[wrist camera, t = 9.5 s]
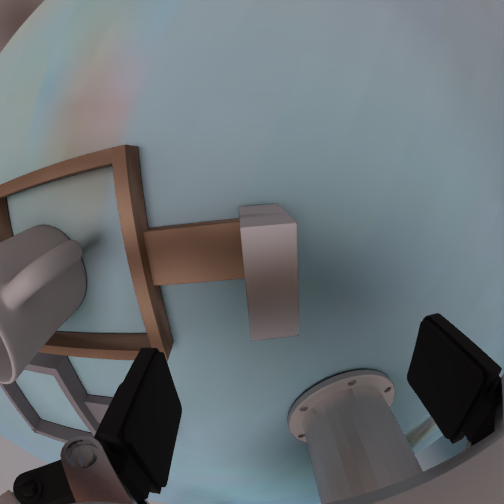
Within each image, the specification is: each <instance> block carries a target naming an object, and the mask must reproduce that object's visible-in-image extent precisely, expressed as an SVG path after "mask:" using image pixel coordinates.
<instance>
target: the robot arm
mask: <svg viewBox="0 0 504 504" xmlns="http://www.w3.org/2000/svg"><path fill="white" fill-rule="evenodd" d="M501 370H502V368H501V367H500V366H499V365H498V364H496V363H495V362H494V361H493V360H492V359H491V358H490V357H489V356H488V355H487V354H486V353H485V352H483V351H482V350H481V349H480V348H479V347H478V346H477V345H476V344H475V343H473V342H472V341H471V340H470V339H469V338H468V337H467V336H465V335H464V334H463V333H462V332H461V331H460V330H458V329H457V328H456V327H455V326H454V325H453V324H451V323H450V322H449V321H448V320H447V319H445V318H444V317H443V316H442V315H440V314H439V313H436V314H432V315H428V316H426V317H425V318H424V319H423V321H422V322H421V324H420V328H419V332H418V336H417V341H416V345H415V349H414V353H413V356H412V360H411V364H410V367H409V371H408V374H407V380H408V383H409V384H410V386H411V387H412V389H413V390H414V391H415V393H416V394H417V396H418V397H419V399H420V400H421V402H422V403H423V405H424V406H425V407H426V409H427V410H428V412H429V413H430V415H431V416H432V418H433V419H434V421H435V423H436V424H437V426H438V427H439V429H440V430H441V432H442V433H443V435H444V436H445V438H447V439H450V441H451V442H452V443H455V442H457V441H459V440H461V439H463V437H464V436H466V437H467V442H466V448H465V451H463V452H461V453H459V454H458V455H456V456H454V457H452V458H450V459H449V460H447V461H445V462H443V463H441V464H439V465H437V466H435V467H433V468H430V469H428V470H426V471H424V472H423V471H422V469H421V467H420V465H419V463H418V461H417V459H416V457H415V455H414V453H413V451H412V449H411V447H410V445H409V443H408V441H407V439H406V437H405V435H404V433H403V432H402V430H401V428H400V426H399V424H398V422H397V420H396V418H395V417H394V415H393V413H392V411H391V409H390V406H391V404H392V402H393V400H394V396H395V389H394V386H393V384H392V382H391V381H390V379H389V378H388V377H387V376H386V375H385V374H384V373H381V372H378V371H374V370H356V371H351V372H346V373H343V374H339V375H336V376H334V377H331V378H329V379H327V380H324V381H323V382H321V383H319V384H317V385H315V386H314V387H312V388H311V389H309V390H308V391H307V392H305V393H304V394H303V395H302V396H301V397H300V398H299V399H297V401H296V402H295V403H294V405H293V406H292V407H291V410H290V412H289V414H288V426H289V430H290V432H291V434H292V435H293V436H294V437H295V438H297V439H298V440H300V441H303V442H306V443H307V445H308V449H309V453H310V458H311V462H312V466H313V471H314V475H315V479H316V483H317V488H318V492H319V496H320V501H321V504H504V373H503V375H502V377H501V378H500V377H499V374H500V372H501ZM181 414H182V407H181V403H180V400H179V397H178V394H177V392H176V389H175V386H174V383H173V380H172V376H171V373H170V370H169V367H168V364H167V360H166V357H165V354H164V353H163V352H160V351H159V349H158V348H141V349H140V351H139V353H138V354H137V356H136V358H135V360H134V362H133V364H132V366H131V368H130V370H129V372H128V373H127V375H126V377H125V379H124V381H123V383H121V384H120V385H119V387H118V389H117V391H116V393H115V395H114V397H113V399H112V401H111V403H110V405H109V407H108V409H107V411H106V413H105V415H104V417H103V419H102V421H101V423H100V425H99V427H98V429H97V432H96V434H95V436H94V438H93V437H89V436H78V437H74V438H72V439H70V440H69V441H68V442H66V443H65V444H64V446H63V448H62V450H61V454H60V455H61V460H58V461H56V462H53V463H50V464H48V465H45V466H42V467H39V468H37V469H33V470H30V471H27V472H24V473H22V474H20V475H19V476H18V477H17V478H16V480H15V482H14V486H13V491H14V492H11V491H10V490H8V491H6V492H5V493H3V494H2V495H1V496H0V504H149V502H148V501H147V500H146V499H147V498H148V495H149V492H152V493H158V494H160V492H161V487H165V486H166V485H167V481H168V476H169V471H170V466H171V461H172V456H173V451H174V447H175V442H176V437H177V432H178V428H179V423H180V419H181Z"/></svg>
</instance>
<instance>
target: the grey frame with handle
mask: <svg viewBox="0 0 504 504" xmlns="http://www.w3.org/2000/svg"><path fill="white" fill-rule="evenodd" d="M25 370H29V371H34V372H39V373H43V374H49V375H54V377H55V379H56V380H57V382H58V384H59V386H60V387H61V389H62V391H63V392H64V394H65V395H66V397H67V399H68V400H69V402H70V403H71V405H72V406H73V408H74V409H75V411H76V412H77V414H78V415H79V417H80V418H81V419H82V421H83V422H84V424H85V425H86V426H87V428H88V429H89V430H90V432H91V433H88V432H84V431H80V430H76V429H72V428H68V427H64V426H61V425H57V424H54V423H50V422H47V421H44V420H41V419H40V418H39V416H38V415H37V414H36V412H35V411H34V409H33V408H32V407H31V405H30V404H29V402H28V401H27V399H26V398H25V397H24V395H23V394H22V392H21V390H20V389H19V387H18V386H17V384H16V383H15V381H14V382H12V383H11V384H2V383H0V386H1V387H2V389H3V390H4V392H5V393H6V395H7V396H8V398H9V399H10V401H11V402H12V404H13V405H14V406H15V408H16V409H17V410H18V412H19V413H20V414H21V416H22V417H23V418H24V420H25V421H26V422H27V423H28V425H29V426H30V427H31V428H32V430H33V431H34V432H36V433H38V434H41V435H44V436H46V437H49V438H52V439H55V440H58V441H61V442H65V443H66V442H68V441H69V440H70V439H72V438H74V437H78V436H89V437H93V438H94V436H95V434H96V432H97V429H98V427H99V425H100V423H101V421H102V419H103V417H104V415H105V413H106V411H107V409H108V407H109V405H110V403H111V401H112V399H113V398H108V397H100V396H93V395H87V393H86V391H85V390H84V388H83V386H82V384H81V383H80V381H79V379H78V377H77V375H76V373H75V371H74V370H73V368H72V366H71V364H70V362H69V360H68V358H67V356H66V355H57V354H49V353H42V352H38V353H37V354H36V355H35V356H34V358H33V359H32V360H31V361H30V363H29V364H28V365H27V366H26V368H25Z"/></svg>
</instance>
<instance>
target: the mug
mask: <svg viewBox="0 0 504 504" xmlns="http://www.w3.org/2000/svg"><path fill="white" fill-rule="evenodd" d="M81 256H82V248H81V246H80V244H79V243H78V242H77V241H75V240H69V239H68V238H67V236H65V235H64V234H63V233H62V232H61V231H59V230H58V229H56V228H54V227H51V226H46V225H40V226H35V227H32V228H30V229H27V230H25V231H23V232H21V233H19V234H17V235H15V236H13V237H11V238H9V239H7V240H5V241H3V242H0V383H2V384H11V383H12V382H14V381H15V380H16V379H17V378H18V376H19V375H20V374H21V373H22V371H23V370H24V369H25V368H26V366H27V365H28V364H29V363H30V361H31V360H32V359H33V358H34V356H35V355H36V354H37V353H38V352H39V350H40V349H41V348H42V347H43V346H44V344H45V343H46V342H47V341H48V340H49V339H50V338H51V336H52V335H53V334H54V333H55V332H56V331H57V330H58V328H59V327H60V326H61V325H62V324H63V323H64V322H65V321H66V320H67V319H68V318H69V317H70V316H71V315H72V314H73V313H74V312H75V311H76V310H77V309H78V307H79V306H80V305H81V303H82V301H83V299H84V296H85V292H86V274H85V269H84V265H83V262H82V260H81Z"/></svg>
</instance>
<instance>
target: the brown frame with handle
mask: <svg viewBox="0 0 504 504" xmlns="http://www.w3.org/2000/svg"><path fill="white" fill-rule="evenodd" d="M109 166H113V175H114V183H115V191H116V198H117V205H118V211H119V218H120V223H121V229H122V235H123V240H124V245H125V250H126V255H127V259H128V264H129V268H130V273H131V277H132V281H133V285H134V289H135V293H136V297H137V300H138V304H139V308H140V311H141V315H142V318H143V322H144V325H145V328H146V331H147V334H103V333H74V332H57V331H56V332H55V333H54V334H53V335H52V336H51V338H50V339H49V340H48V341H47V342H46V343H45V344H44V346H43V347H42V348H41V349H40V350H39V352H42V353H49V354H57V355H66V356H75V357H86V358H99V359H115V360H135V358H136V356H137V354H138V353H139V351H140V349H141V348H158V349H159V351H160V352H163V353H164V354H165V357H166V360H167V361H168V358H169V355H170V352H171V349H172V345H173V339H172V336H171V332H170V328H169V324H168V320H167V317H166V313H165V308H164V304H163V300H162V296H161V291H160V287H159V285H169V284H182V283H195V282H208V281H220V280H231V279H243V278H245V284H246V294H247V304H248V314H249V324H250V334H251V341H254V340H264V339H273V338H282V337H290V336H298V333H299V300H298V247H297V223H296V222H295V221H294V220H293V219H292V218H291V217H290V216H289V215H288V214H287V213H286V212H285V211H284V210H283V209H282V208H281V207H280V206H279V205H278V204H267V205H255V206H244V207H239V212H240V218H239V219H229V220H218V221H208V222H199V223H189V224H180V225H172V226H163V227H155V228H148V224H147V218H146V211H145V204H144V197H143V190H142V181H141V173H140V163H139V153H138V146H130V145H121V146H117V147H113V148H109V149H105V150H101V151H97V152H93V153H90V154H86V155H83V156H79V157H76V158H72V159H69V160H66V161H63V162H60V163H57V164H54V165H51V166H48V167H45V168H42V169H39V170H36V171H34V172H31V173H28V174H26V175H23V176H21V177H18V178H16V179H13V180H11V181H8V182H6V183H4V184H1V185H0V242H3V241H5V240H7V239H9V238H11V237H13V236H12V231H11V226H10V221H9V215H8V209H7V203H6V197H8V196H10V195H13V194H16V193H18V192H21V191H24V190H27V189H30V188H33V187H36V186H39V185H42V184H45V183H49V182H52V181H55V180H59V179H62V178H65V177H69V176H73V175H76V174H80V173H84V172H88V171H92V170H96V169H100V168H104V167H109Z"/></svg>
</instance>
